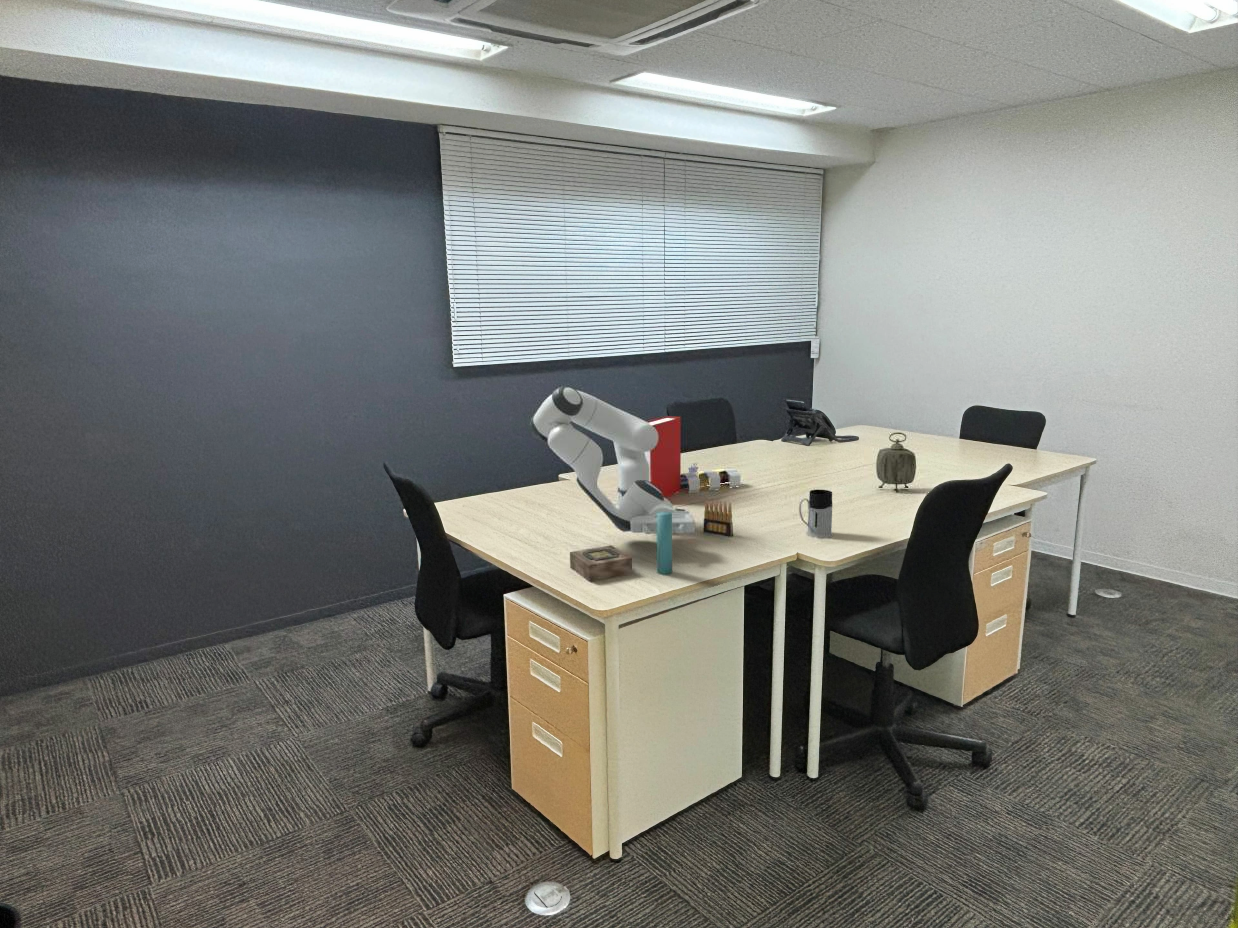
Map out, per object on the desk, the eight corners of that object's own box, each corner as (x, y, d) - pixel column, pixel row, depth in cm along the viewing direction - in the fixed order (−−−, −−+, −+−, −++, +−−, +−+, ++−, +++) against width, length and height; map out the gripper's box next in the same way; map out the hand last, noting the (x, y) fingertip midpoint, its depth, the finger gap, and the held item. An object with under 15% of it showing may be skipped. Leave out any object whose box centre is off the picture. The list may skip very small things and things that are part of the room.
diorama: (689, 494, 326) (689, 464, 323) (678, 489, 335) (678, 460, 333) (740, 488, 335) (740, 459, 333) (728, 484, 344) (728, 455, 342)
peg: (667, 568, 231) (667, 510, 228) (674, 573, 228) (674, 514, 224) (654, 571, 230) (654, 512, 226) (662, 575, 226) (661, 516, 222)
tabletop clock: (909, 488, 328) (913, 430, 323) (915, 493, 319) (919, 434, 314) (874, 488, 330) (877, 430, 325) (879, 493, 321) (882, 434, 316)
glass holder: (838, 535, 263) (839, 492, 260) (808, 542, 255) (809, 498, 252) (818, 529, 270) (820, 487, 267) (789, 536, 263) (790, 493, 260)
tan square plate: (604, 553, 234) (604, 550, 233) (612, 558, 229) (612, 555, 229) (588, 556, 231) (588, 553, 231) (596, 561, 226) (596, 558, 226)
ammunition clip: (733, 535, 264) (733, 501, 262) (730, 537, 263) (731, 503, 261) (705, 531, 270) (705, 498, 268) (703, 532, 269) (703, 499, 267)
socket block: (611, 560, 240) (611, 544, 239) (632, 573, 228) (632, 556, 227) (570, 567, 234) (569, 551, 233) (589, 581, 222) (589, 564, 221)
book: (651, 504, 309) (651, 425, 303) (634, 501, 313) (633, 424, 307) (682, 490, 332) (682, 416, 326) (665, 488, 336) (665, 415, 330)
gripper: (629, 510, 248) (629, 521, 235) (693, 509, 248) (696, 521, 234) (629, 529, 250) (629, 541, 236) (693, 528, 249) (696, 541, 236)
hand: (663, 531), depth 235 cm, fingers open, 8 cm apart
